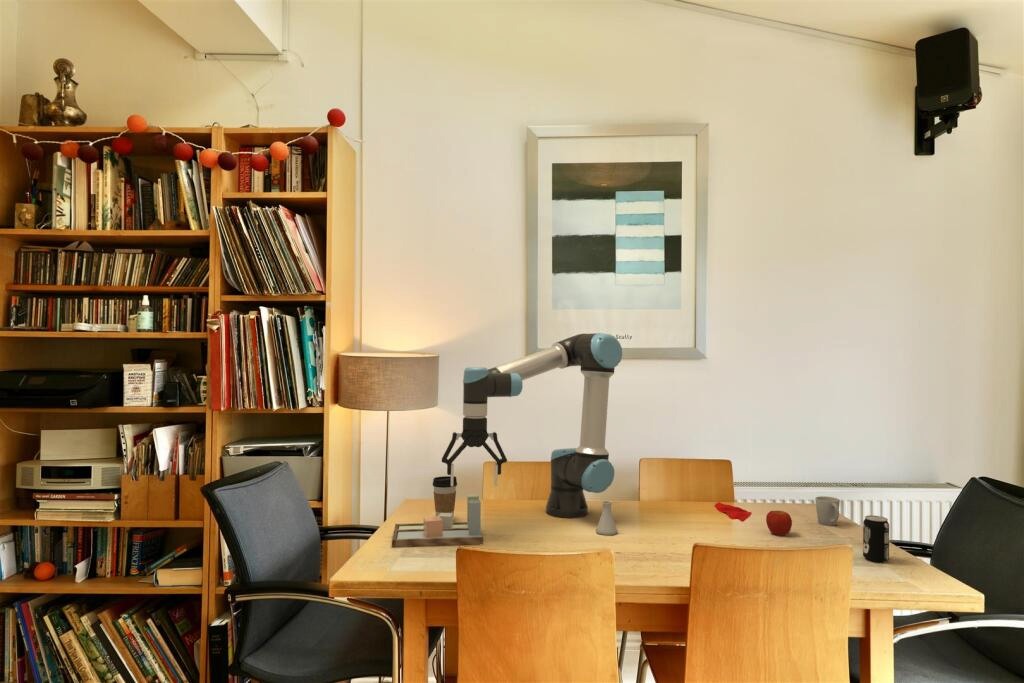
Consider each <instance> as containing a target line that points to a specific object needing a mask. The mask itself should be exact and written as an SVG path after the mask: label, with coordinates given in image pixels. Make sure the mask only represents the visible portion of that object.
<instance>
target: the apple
mask: <svg viewBox="0 0 1024 683" xmlns="http://www.w3.org/2000/svg"><path fill="white" fill-rule="evenodd" d="M765 521H766V526H767V529H768V530H769V532H771V533H772V535H775V536H785V535H788V534H789V533H790V531H791V530H792V526H793V520H792V517H791V515H790V514H789V513H788V512H786V511H783V510H770V511H769V512H767V513H766V517H765Z"/></svg>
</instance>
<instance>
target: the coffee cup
mask: <svg viewBox="0 0 1024 683" xmlns="http://www.w3.org/2000/svg"><path fill="white" fill-rule="evenodd" d="M457 486H458V482H457V476H453V486H451V475H445V476H436V477H433V479H432V487H433V498H434V499H433V500H434V511H435V516H438V515H439V514H440V513H453V519H454V516H455V515H454V514H455V508H456V507H455V506H456V495H457Z"/></svg>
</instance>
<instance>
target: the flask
mask: <svg viewBox="0 0 1024 683" xmlns="http://www.w3.org/2000/svg"><path fill="white" fill-rule="evenodd" d="M601 503H602V512H601V514H600V518H599V520H598V524H597V526H596V529H595V532H596V534H599V535H604V536H614V535H616V534H619V532H618V529H617V526H616V523H615V519H614V517H613V512H612V504H613V502H612V501H611V500H602V502H601Z"/></svg>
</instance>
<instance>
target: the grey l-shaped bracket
mask: <svg viewBox="0 0 1024 683" xmlns="http://www.w3.org/2000/svg"><path fill="white" fill-rule="evenodd" d="M466 496H467V497H466V498H467V500H466V501H467V502H466V503H467V505H466V506H467V507H466V509H467V510H466V514H467V515H466V516H467V517H466V518H467V519H466V522H467V524H464V525H453V526H452V528H469V500H480V496H479V494H478V493H470V494H469V493H467V495H466ZM400 529H424V526H399V530H400Z"/></svg>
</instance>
